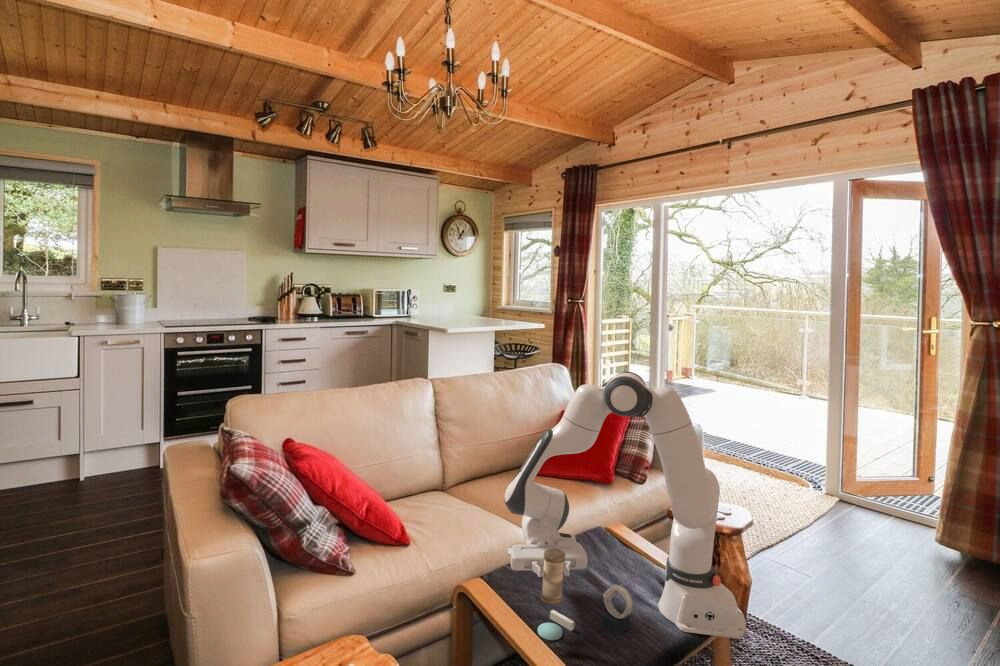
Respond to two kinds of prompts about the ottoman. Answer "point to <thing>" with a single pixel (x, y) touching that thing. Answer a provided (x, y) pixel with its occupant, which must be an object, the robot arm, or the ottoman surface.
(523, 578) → the ottoman surface
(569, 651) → the ottoman surface
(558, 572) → the spool
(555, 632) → the coaster
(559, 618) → the rail
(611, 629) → the watch
